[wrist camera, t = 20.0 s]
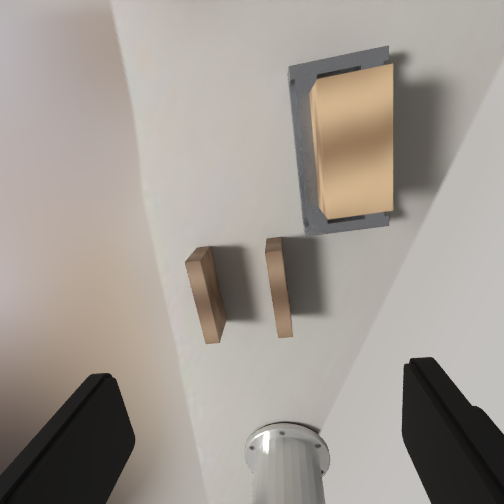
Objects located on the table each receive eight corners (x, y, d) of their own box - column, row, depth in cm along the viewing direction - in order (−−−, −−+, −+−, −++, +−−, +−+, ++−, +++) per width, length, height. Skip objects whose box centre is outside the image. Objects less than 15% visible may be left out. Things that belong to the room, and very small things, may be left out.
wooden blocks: (290, 314, 34) (292, 336, 30) (214, 321, 36) (205, 343, 31) (280, 237, 31) (281, 250, 27) (196, 247, 32) (184, 262, 28)
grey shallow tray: (379, 219, 30) (389, 225, 27) (303, 229, 31) (306, 236, 28) (377, 55, 25) (388, 45, 22) (287, 74, 26) (288, 66, 23)
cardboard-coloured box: (372, 200, 27) (393, 210, 22) (319, 207, 27) (327, 219, 22) (369, 81, 23) (393, 63, 19) (309, 93, 24) (316, 79, 19)
